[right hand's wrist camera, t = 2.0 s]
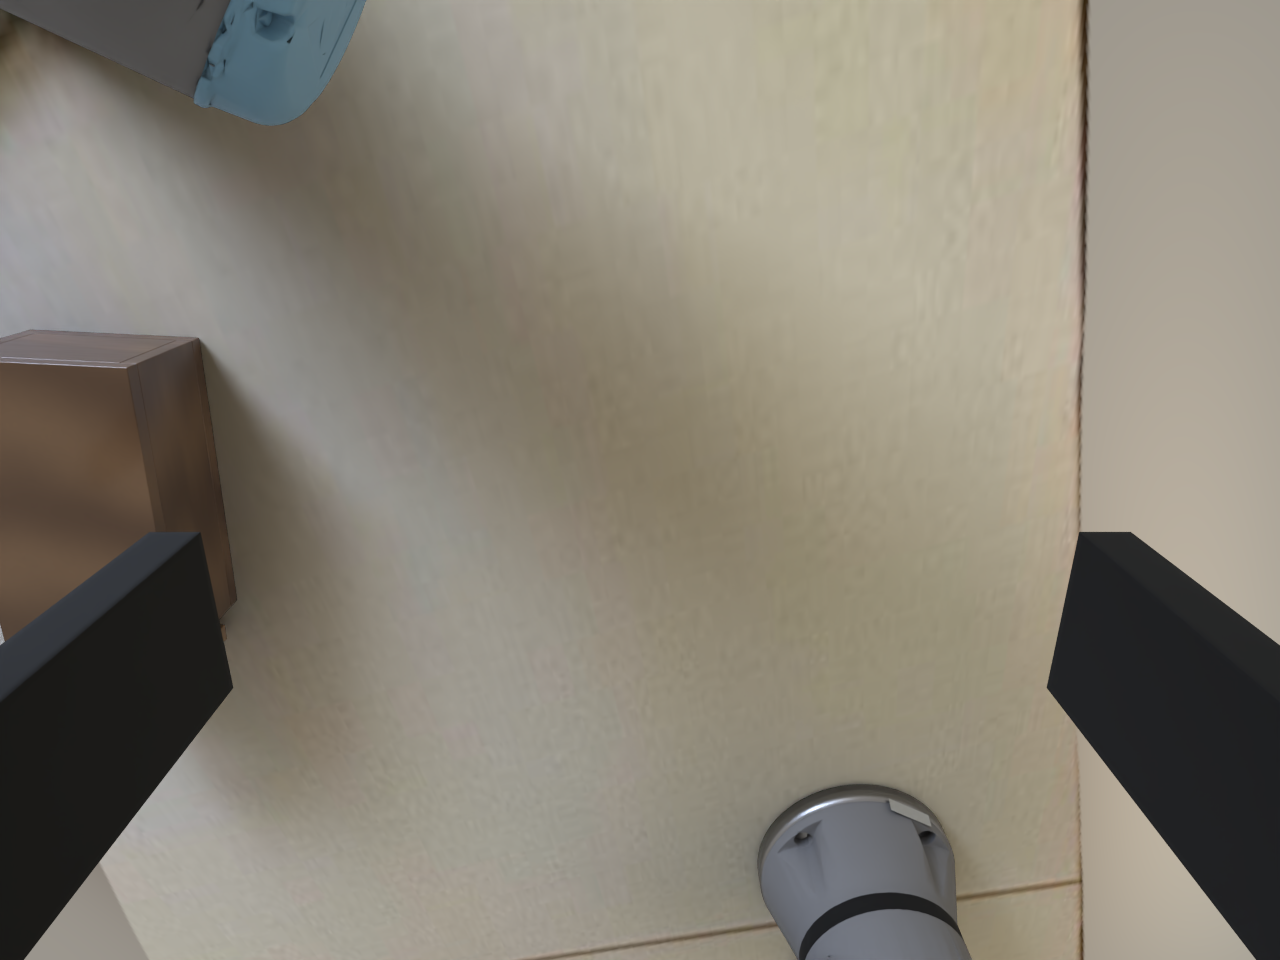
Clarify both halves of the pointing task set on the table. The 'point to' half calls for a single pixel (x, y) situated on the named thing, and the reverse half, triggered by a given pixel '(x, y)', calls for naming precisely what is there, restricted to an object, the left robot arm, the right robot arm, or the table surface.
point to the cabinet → (101, 461)
